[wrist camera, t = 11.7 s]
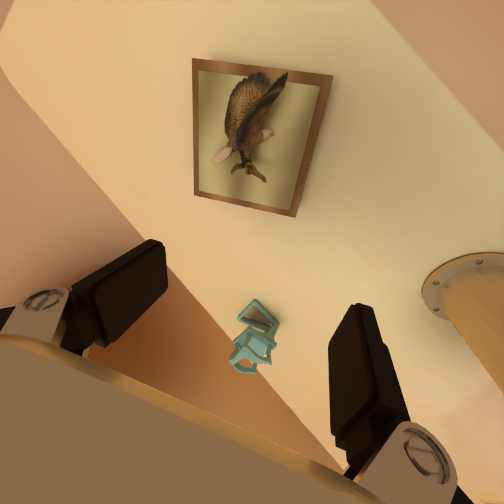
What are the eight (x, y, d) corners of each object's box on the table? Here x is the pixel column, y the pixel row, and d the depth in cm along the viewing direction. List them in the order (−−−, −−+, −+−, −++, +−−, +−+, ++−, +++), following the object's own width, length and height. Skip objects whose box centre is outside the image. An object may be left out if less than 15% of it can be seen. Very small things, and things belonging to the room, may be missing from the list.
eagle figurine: (290, 175, 24) (310, 73, 18) (243, 191, 20) (248, 69, 14) (247, 155, 28) (252, 66, 22) (202, 166, 24) (191, 62, 18)
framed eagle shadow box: (330, 84, 24) (334, 74, 20) (297, 207, 32) (295, 219, 28) (209, 68, 26) (189, 56, 22) (207, 187, 34) (192, 196, 30)
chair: (266, 334, 49) (255, 387, 39) (237, 316, 48) (218, 365, 38) (286, 318, 45) (279, 374, 35) (254, 298, 44) (238, 348, 34)
